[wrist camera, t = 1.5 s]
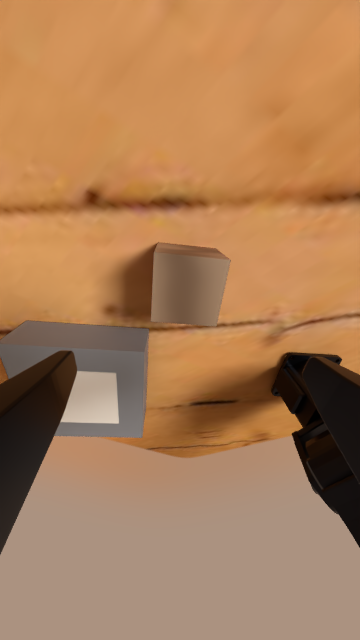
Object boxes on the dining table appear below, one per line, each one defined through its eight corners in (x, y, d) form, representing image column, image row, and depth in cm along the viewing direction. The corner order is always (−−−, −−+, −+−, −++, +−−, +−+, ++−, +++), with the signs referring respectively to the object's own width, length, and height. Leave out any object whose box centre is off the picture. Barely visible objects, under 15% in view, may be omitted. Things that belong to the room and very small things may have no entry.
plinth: (148, 328, 21) (144, 352, 17) (145, 407, 26) (142, 438, 23) (26, 320, 20) (-6, 344, 16) (49, 404, 25) (29, 436, 22)
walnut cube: (215, 248, 18) (230, 260, 13) (206, 301, 20) (216, 326, 15) (158, 242, 17) (153, 252, 13) (155, 297, 19) (150, 321, 15)
